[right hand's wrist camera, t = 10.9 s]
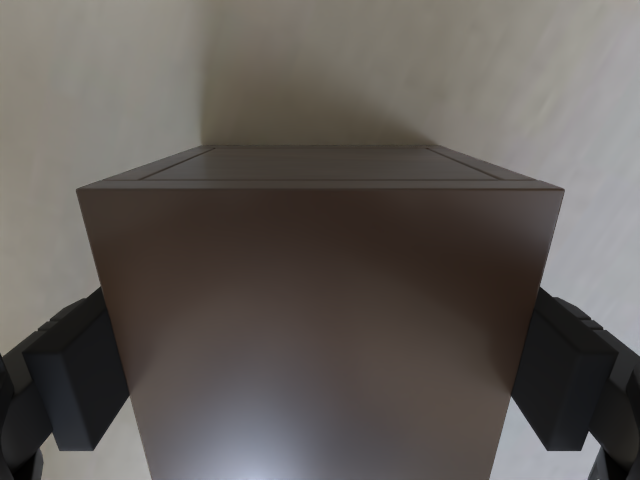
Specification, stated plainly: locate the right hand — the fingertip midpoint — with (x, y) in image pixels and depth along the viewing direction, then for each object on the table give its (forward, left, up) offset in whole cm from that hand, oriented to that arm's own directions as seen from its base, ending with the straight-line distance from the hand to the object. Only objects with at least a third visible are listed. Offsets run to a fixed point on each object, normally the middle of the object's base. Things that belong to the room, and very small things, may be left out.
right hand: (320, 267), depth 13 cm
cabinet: (+3, +2, -3) cm, 5 cm away
